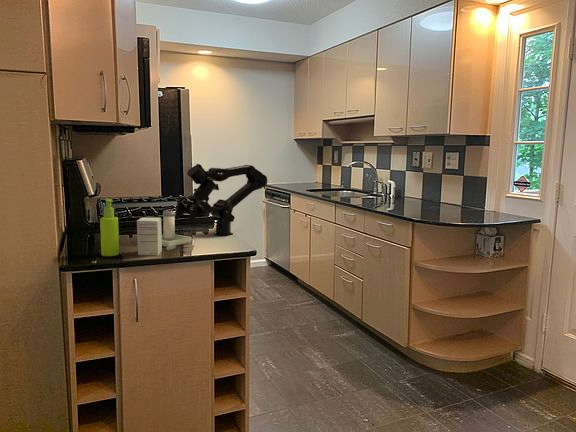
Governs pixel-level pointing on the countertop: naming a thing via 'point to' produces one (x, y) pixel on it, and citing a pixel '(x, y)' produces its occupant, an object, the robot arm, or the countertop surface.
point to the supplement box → (149, 236)
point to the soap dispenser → (109, 231)
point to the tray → (176, 240)
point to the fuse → (169, 225)
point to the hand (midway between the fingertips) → (181, 220)
